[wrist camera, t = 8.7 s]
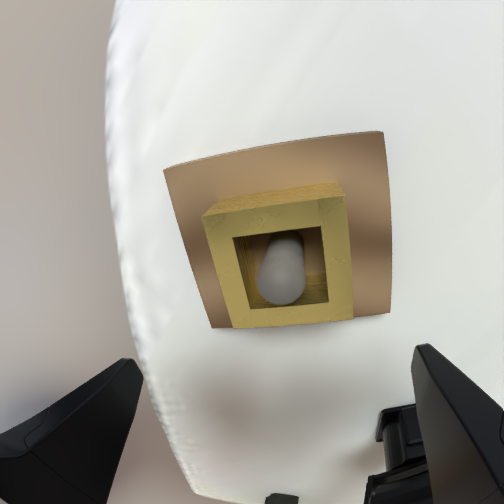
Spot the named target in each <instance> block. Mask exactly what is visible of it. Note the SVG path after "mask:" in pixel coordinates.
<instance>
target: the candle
mask: <svg viewBox="0 0 504 504" xmlns="http://www.w3.org/2000/svg"><path fill="white" fill-rule="evenodd" d="M298 498H299V497H297V496H292V495H285V494H278V493H274V494H271V495H270V496H269V497H266V500H265V504H298Z"/></svg>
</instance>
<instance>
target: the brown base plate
mask: <svg viewBox="0 0 504 504" xmlns="http://www.w3.org/2000/svg"><path fill="white" fill-rule="evenodd" d="M163 172H164V176H165V179H166V183H167V187H168V190H169V194H170V198H171V201H172V205H173V208H174V212H175V215H176V219H177V222H178V226H179V229H180V232H181V236H182V239H183V242H184V245H185V249H186V252H187V255H188V258H189V262H190V265H191V268H192V271H193V274H194V277H195V280H196V283H197V286H198V289H199V292H200V295H201V298H202V301H203V304H204V307H205V310H206V313H207V316H208V318H209V321H210V324H211V327H212V328H233V326H232V322H231V319H230V316H229V313H228V309H227V306H226V303H225V299H224V296H223V293H222V289H221V286H220V282H219V279H218V276H217V272H216V269H215V265H214V262H213V258H212V255H211V251H210V248H209V244H208V240H207V237H206V233H205V229H204V226H203V222H202V218H201V216H202V215H203V214H204V213H205V212H206V211H207V210H208V209H209V208H210V207H211V206H212V205H213V204H214V203H215V202H216V201H217V200H218V199H223V198H229V197H235V196H240V195H246V194H252V193H259V192H265V191H271V190H278V189H285V188H292V187H299V186H306V185H313V184H321V183H329V182H338V183H339V185H340V187H341V189H342V191H343V193H344V194H345V199H346V208H347V217H348V228H349V240H350V253H351V269H352V289H353V318H354V317H362V316H370V315H377V314H384V313H390V308H391V287H392V225H391V204H390V189H389V177H388V167H387V157H386V149H385V141H384V134H383V132H380V131H369V132H358V133H348V134H339V135H330V136H322V137H315V138H308V139H301V140H294V141H288V142H281V143H276V144H270V145H264V146H259V147H253V148H248V149H243V150H238V151H233V152H229V153H224V154H219V155H215V156H210V157H206V158H202V159H198V160H193V161H189V162H185V163H181V164H178V165H174V166H171V167H169V168H166V169H164V170H163ZM249 239H250V243H251V248H252V252H253V257H254V261H255V266H256V270H257V277H256V283H257V288H258V290H259V292H260V294H261V295H262V296H263V298H264V299H266V300H267V301H269V302H270V303H273V304H277V305H285V304H289V303H292V302H294V301H295V300H296V299H298V298H299V297H300V295H301V294H302V293H303V291H304V288H305V285H306V275H312V274H321V273H326V268H325V259H324V250H323V241H322V233H321V226H316V227H308V228H300V229H292V230H284V231H277V232H269V233H262V234H254V235H249Z"/></svg>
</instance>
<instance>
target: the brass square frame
mask: <svg viewBox="0 0 504 504" xmlns="http://www.w3.org/2000/svg"><path fill="white" fill-rule="evenodd" d="M201 218H202V222H203V226H204V229H205V233H206V237H207V240H208V244H209V248H210V251H211V255H212V258H213V262H214V265H215V269H216V272H217V276H218V279H219V282H220V286H221V289H222V293H223V296H224V299H225V303H226V306H227V309H228V313H229V316H230V319H231V322H232V326H233V329H237V328H256V327H272V326H286V325H298V324H310V323H320V322H330V321H339V320H348V319H353V289H352V269H351V253H350V240H349V228H348V217H347V208H346V199H345V194H344V193H343V191H342V189H341V187H340V185H339V183H338V182H329V183H321V184H313V185H306V186H299V187H292V188H285V189H278V190H271V191H265V192H259V193H252V194H246V195H240V196H235V197H229V198H223V199H218V200H217V201H216V202H215V203H214V204H213V205H212V206H211V207H210V208H209V209H208V210H207V211H206V212H205V213H204V214H203V215H202V216H201ZM316 226H321V233H322V241H323V250H324V259H325V268H326V273H321V274H312V275H306V285H305V288H304V291H303V293H302V294H301V295H300V297H299V298H298V299H296V300H295V301H294V302H292V303H289V304H285V305H277V304H273V303H270V302H269V301H267V300H266V299H264V298H263V296H262V295H261V294H260V292H259V290H258V288H257V283H256V277H257V270H256V266H255V261H254V257H253V252H252V248H251V243H250V239H249V235H254V234H262V233H269V232H277V231H284V230H292V229H300V228H308V227H316Z"/></svg>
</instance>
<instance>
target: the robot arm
mask: <svg viewBox="0 0 504 504" xmlns="http://www.w3.org/2000/svg"><path fill="white" fill-rule="evenodd" d="M411 373H412V379H413V386H414V393H415V401H416V404H413V405H408V406H403V407H397V408H392V409H386V410H384V411H382V413H381V417H380V422H379V426H378V431H377V435H376V442H383V441H384V450H385V461H386V472H384V473H381V474H377V475H371V476H368V483H367V485H366V492H365V499H364V504H504V411H503V408H502V407H501V406H499V405H498V404H497V403H496V402H495V401H494V400H493V399H492V398H491V397H490V396H489V395H487V394H486V393H485V392H484V391H483V390H482V389H481V388H480V387H479V386H477V385H476V384H475V383H474V382H473V381H472V380H471V379H470V378H468V377H467V376H466V375H465V374H464V373H463V372H462V371H461V370H459V369H458V368H457V367H456V366H455V365H454V364H452V363H451V362H450V361H449V360H448V359H447V358H446V357H444V356H443V355H442V354H441V353H440V352H439V351H437V350H436V349H435V348H434V347H433V346H431V345H430V344H428V343H426V344H421V345H417V346H416V347H415V349H414V354H413V359H412V364H411ZM142 384H143V374H142V373H141V371H140V369H139V367H138V366H137V364H136V362H135V361H134V360H133V359H131V358H122V359H120V360H119V361H117V362H116V363H114V364H112V365H111V366H110V367H108V368H107V369H105V370H104V371H102V372H101V373H99V374H98V375H96V376H95V377H93V378H92V379H90V380H89V381H87V382H86V383H84V384H83V385H81V386H79V387H78V388H77V389H75V390H74V391H72V392H70V393H69V394H67V395H66V396H64V397H63V398H61V399H60V400H59V401H57V402H55V403H54V404H52V405H51V406H50V407H47V408H46V409H45V410H43V411H41V412H40V413H38V414H37V415H35V416H33V417H32V418H30V419H28V420H26V421H24V422H23V423H21V424H19V425H17V426H15V427H13V428H11V429H9V430H8V431H6V432H4V433H2V434H0V504H106V503H107V500H108V496H109V493H110V490H111V487H112V483H113V480H114V477H115V474H116V470H117V467H118V464H119V461H120V458H121V455H122V452H123V449H124V446H125V443H126V440H127V437H128V434H129V431H130V428H131V425H132V422H133V419H134V416H135V413H136V409H137V404H138V400H139V396H140V392H141V388H142Z"/></svg>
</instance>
